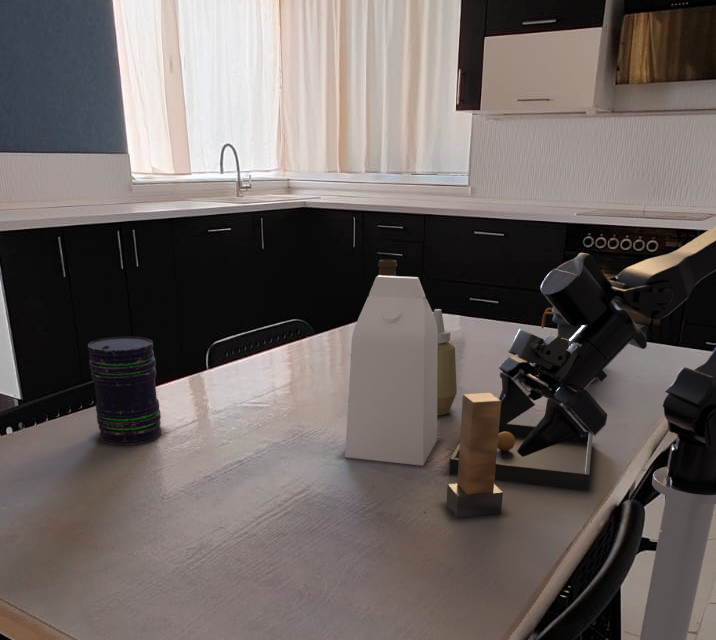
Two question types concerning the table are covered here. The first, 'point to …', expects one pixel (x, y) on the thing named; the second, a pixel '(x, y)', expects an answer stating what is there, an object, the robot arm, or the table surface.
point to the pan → (541, 461)
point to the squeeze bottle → (445, 367)
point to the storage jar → (125, 390)
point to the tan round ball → (505, 441)
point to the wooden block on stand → (477, 459)
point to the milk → (393, 375)
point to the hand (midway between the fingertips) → (502, 442)
